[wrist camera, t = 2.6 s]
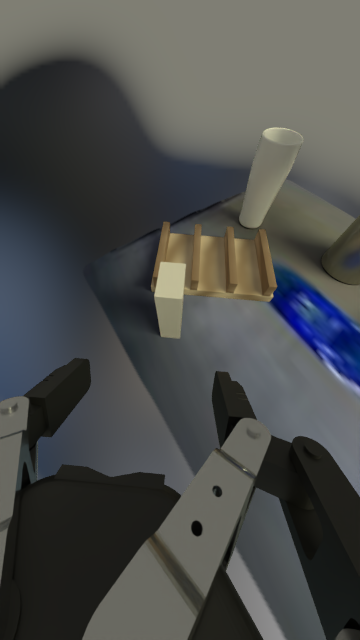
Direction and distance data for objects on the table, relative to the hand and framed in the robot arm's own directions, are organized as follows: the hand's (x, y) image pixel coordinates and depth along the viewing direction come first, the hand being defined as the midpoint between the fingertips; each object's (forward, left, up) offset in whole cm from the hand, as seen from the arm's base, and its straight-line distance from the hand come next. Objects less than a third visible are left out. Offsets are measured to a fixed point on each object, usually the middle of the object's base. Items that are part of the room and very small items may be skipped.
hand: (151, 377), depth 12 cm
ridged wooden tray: (-6, -24, -15) cm, 29 cm away
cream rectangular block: (0, -11, -15) cm, 19 cm away
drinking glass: (-15, -39, -15) cm, 45 cm away
